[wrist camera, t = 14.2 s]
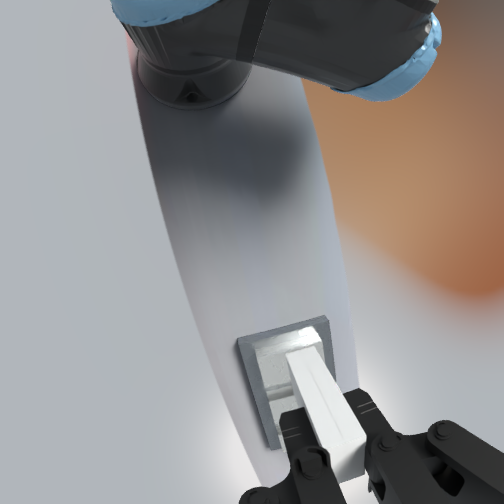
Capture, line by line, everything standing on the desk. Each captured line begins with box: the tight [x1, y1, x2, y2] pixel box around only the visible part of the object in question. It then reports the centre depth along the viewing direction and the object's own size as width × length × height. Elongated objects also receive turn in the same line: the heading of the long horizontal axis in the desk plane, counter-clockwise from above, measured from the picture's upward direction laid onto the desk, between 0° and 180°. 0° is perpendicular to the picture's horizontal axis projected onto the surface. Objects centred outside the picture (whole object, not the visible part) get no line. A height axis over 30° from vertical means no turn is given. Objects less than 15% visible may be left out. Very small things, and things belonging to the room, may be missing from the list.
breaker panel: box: [238, 315, 336, 453], centre depth 41 cm, size 24×13×10 cm, turn 13°
